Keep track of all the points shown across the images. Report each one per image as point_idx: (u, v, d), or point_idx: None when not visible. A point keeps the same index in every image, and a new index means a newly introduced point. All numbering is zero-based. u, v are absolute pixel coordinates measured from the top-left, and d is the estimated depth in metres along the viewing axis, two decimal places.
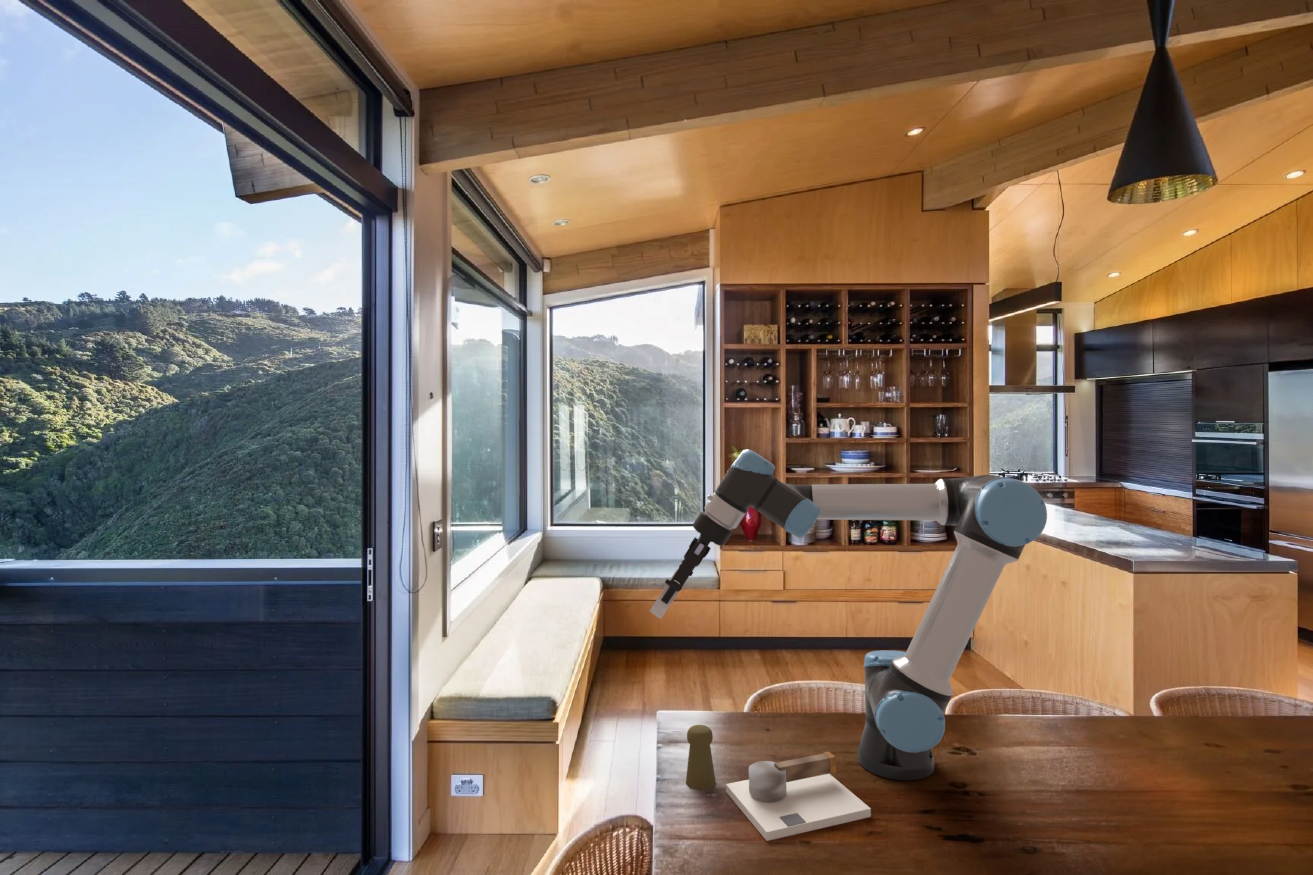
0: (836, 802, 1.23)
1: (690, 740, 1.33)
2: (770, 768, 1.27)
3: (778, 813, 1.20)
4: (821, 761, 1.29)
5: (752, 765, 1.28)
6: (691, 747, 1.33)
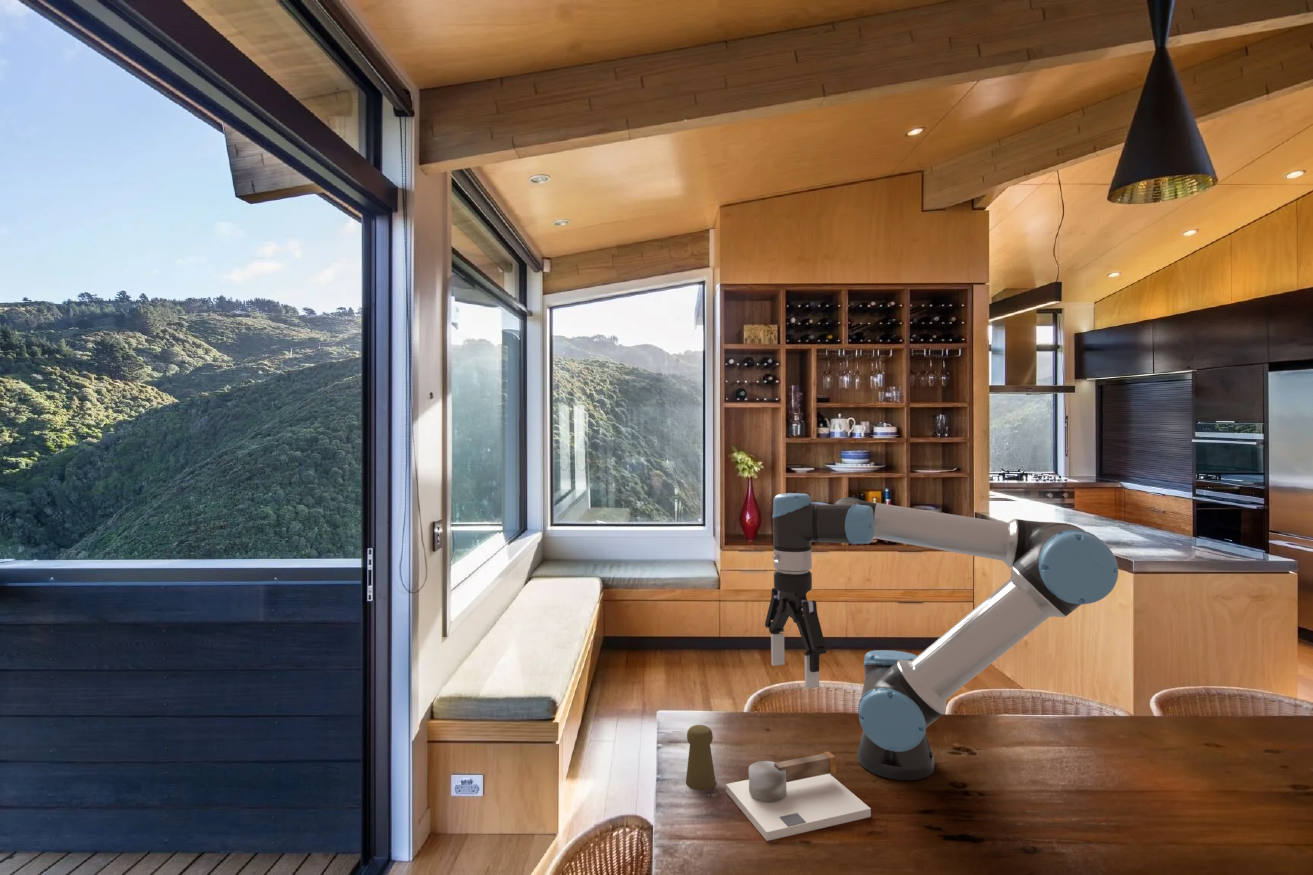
0: (836, 802, 1.23)
1: (690, 740, 1.33)
2: (770, 768, 1.27)
3: (778, 813, 1.20)
4: (821, 761, 1.29)
5: (752, 765, 1.28)
6: (691, 747, 1.33)
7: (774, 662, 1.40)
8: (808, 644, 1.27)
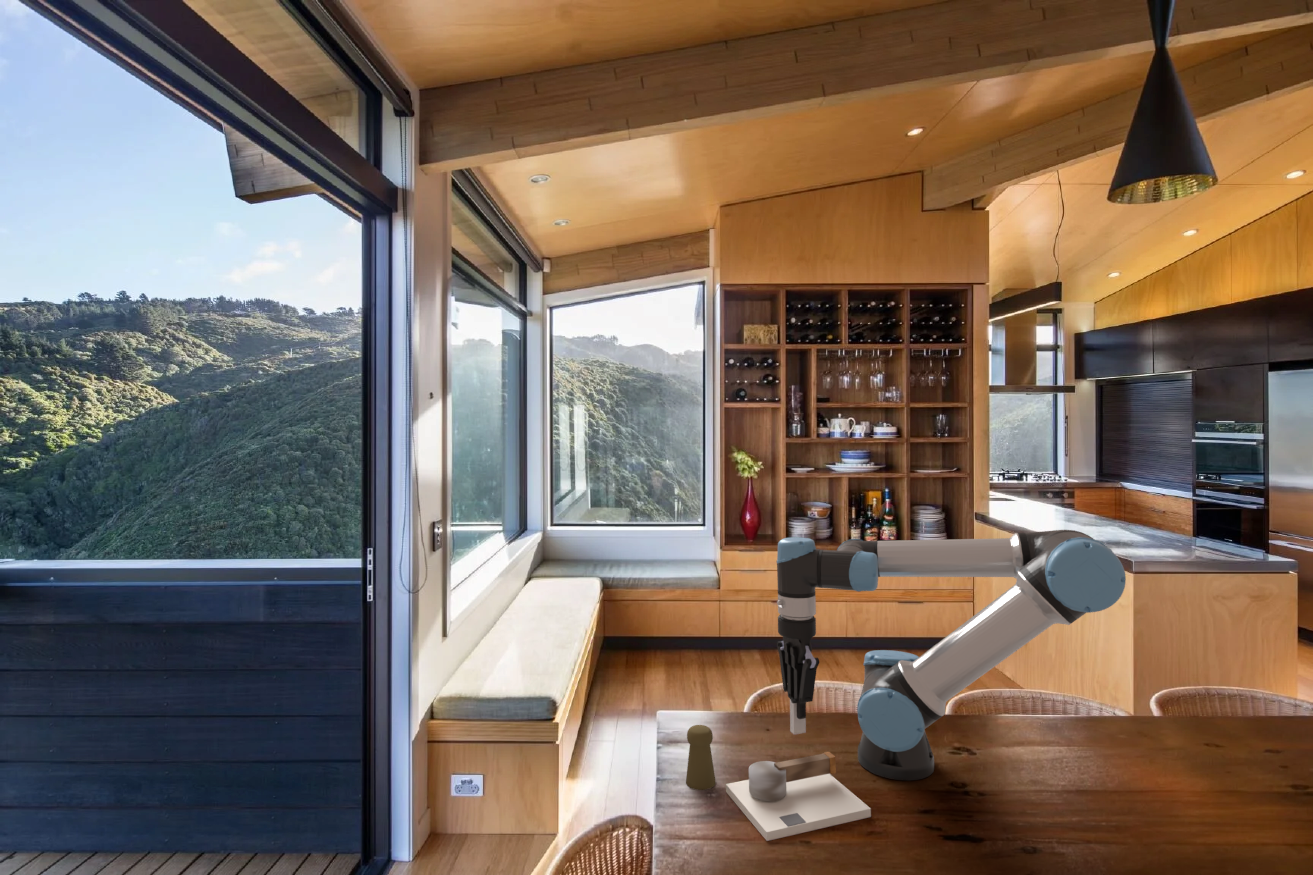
0: (836, 802, 1.23)
1: (690, 740, 1.33)
2: (770, 768, 1.27)
3: (778, 813, 1.20)
4: (821, 761, 1.29)
5: (752, 765, 1.28)
6: (691, 747, 1.33)
7: None
8: (797, 694, 1.32)
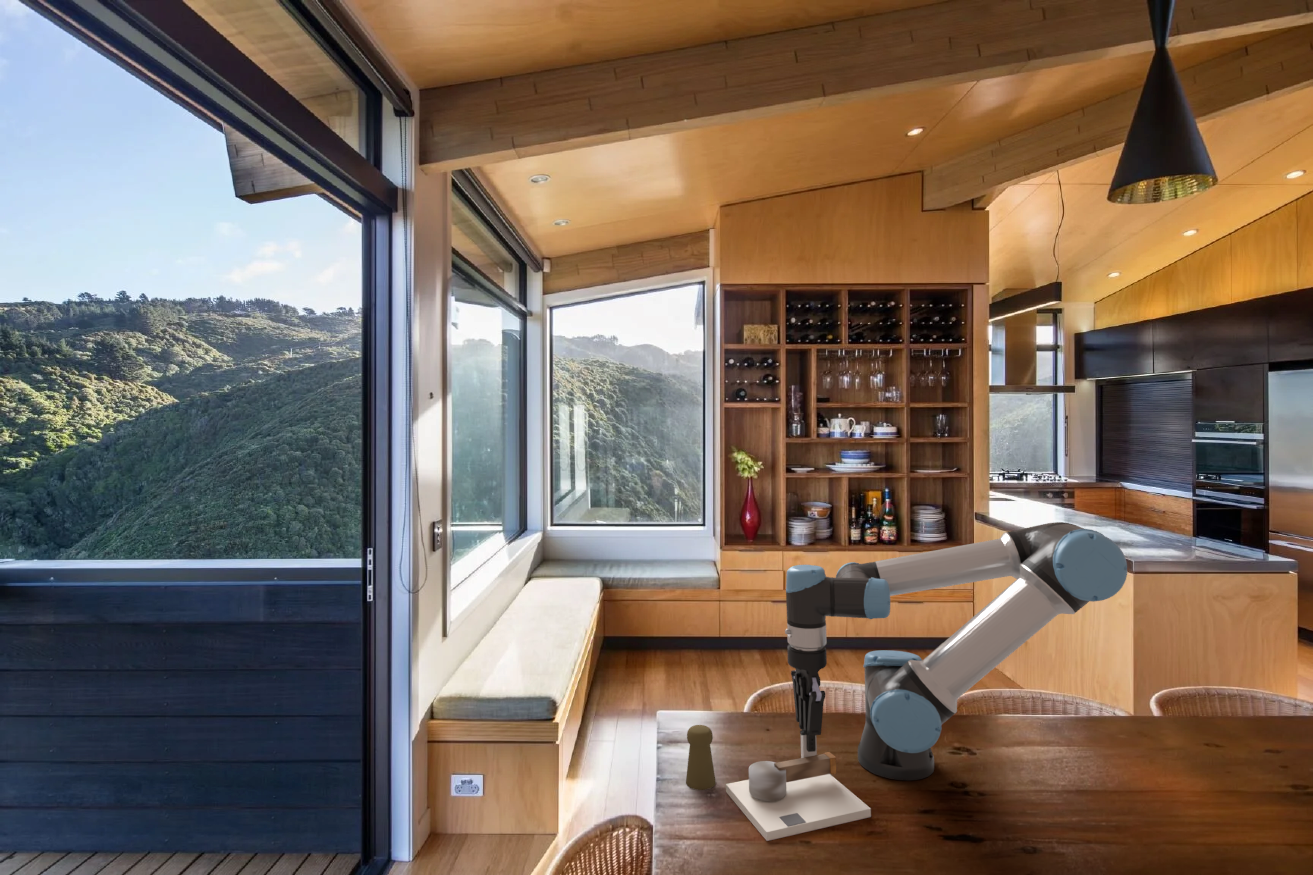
0: (836, 802, 1.23)
1: (690, 740, 1.33)
2: (770, 768, 1.27)
3: (778, 813, 1.20)
4: (821, 761, 1.29)
5: (752, 765, 1.28)
6: (691, 747, 1.33)
7: None
8: (806, 726, 1.29)
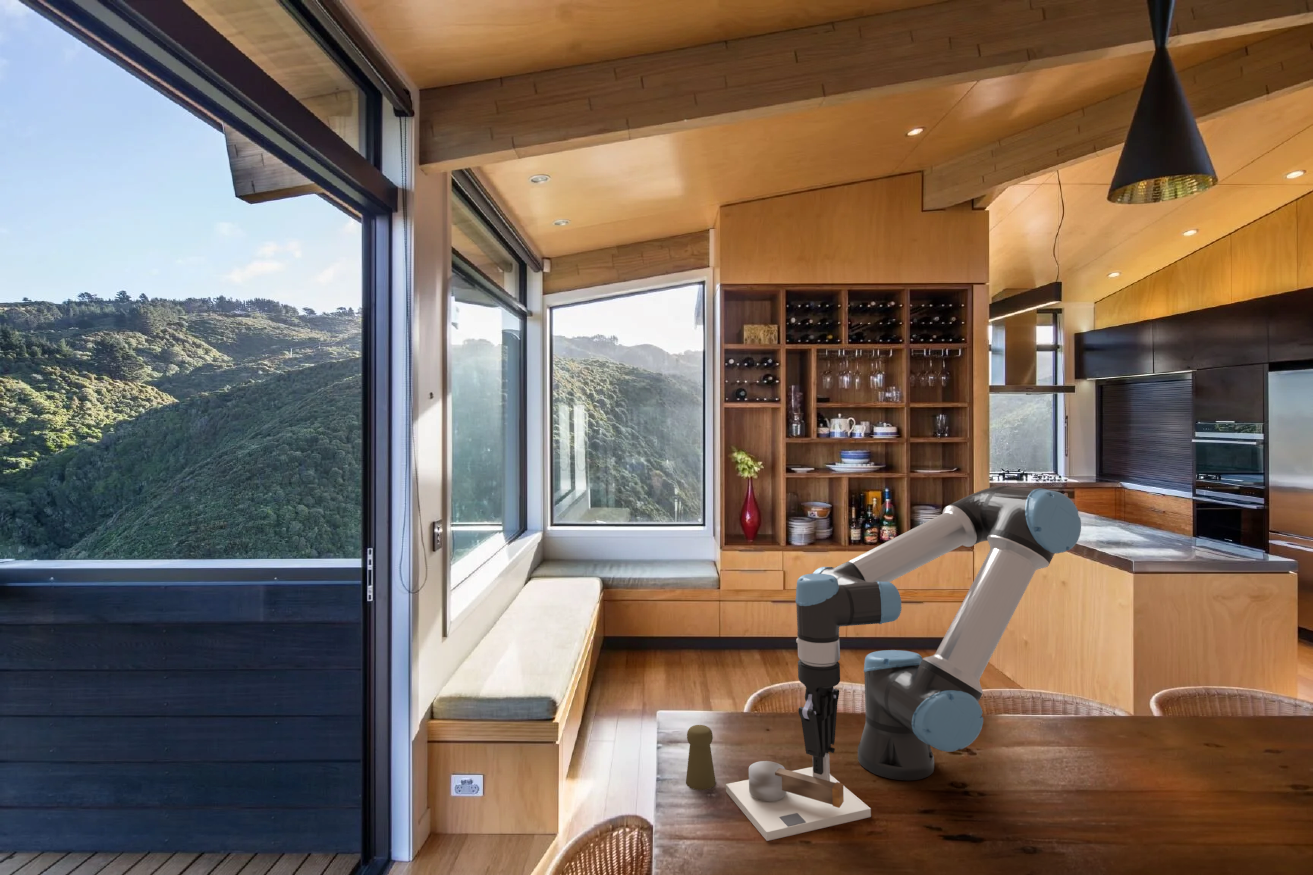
0: None
1: (690, 740, 1.33)
2: (772, 770, 1.26)
3: (778, 813, 1.20)
4: (822, 787, 1.19)
5: (763, 761, 1.29)
6: (691, 747, 1.33)
7: None
8: None
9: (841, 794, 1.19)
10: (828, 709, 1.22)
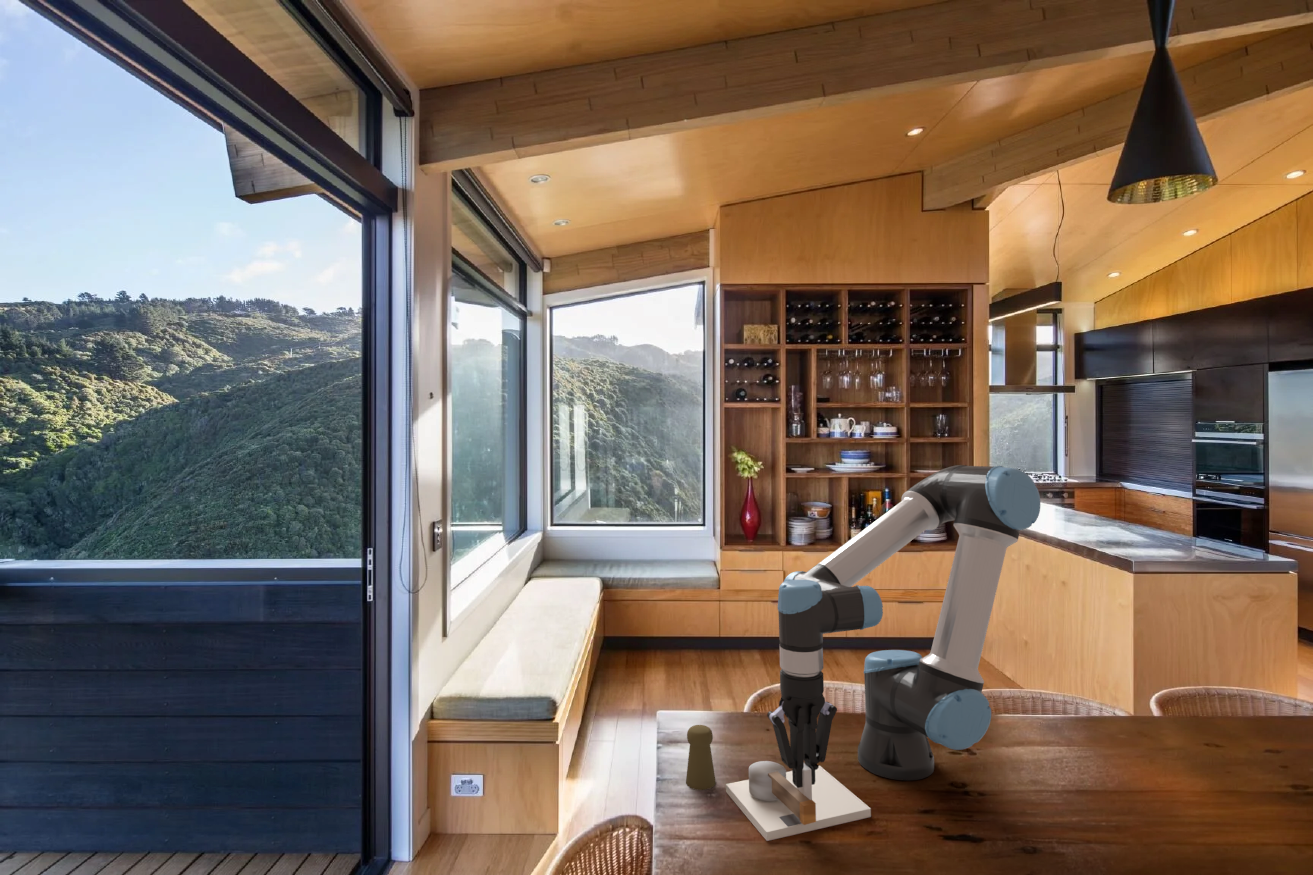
0: (836, 802, 1.23)
1: (690, 740, 1.33)
2: (770, 771, 1.26)
3: (778, 813, 1.20)
4: (794, 799, 1.16)
5: (773, 763, 1.29)
6: (691, 747, 1.33)
7: None
8: None
9: (810, 812, 1.13)
10: (810, 723, 1.17)
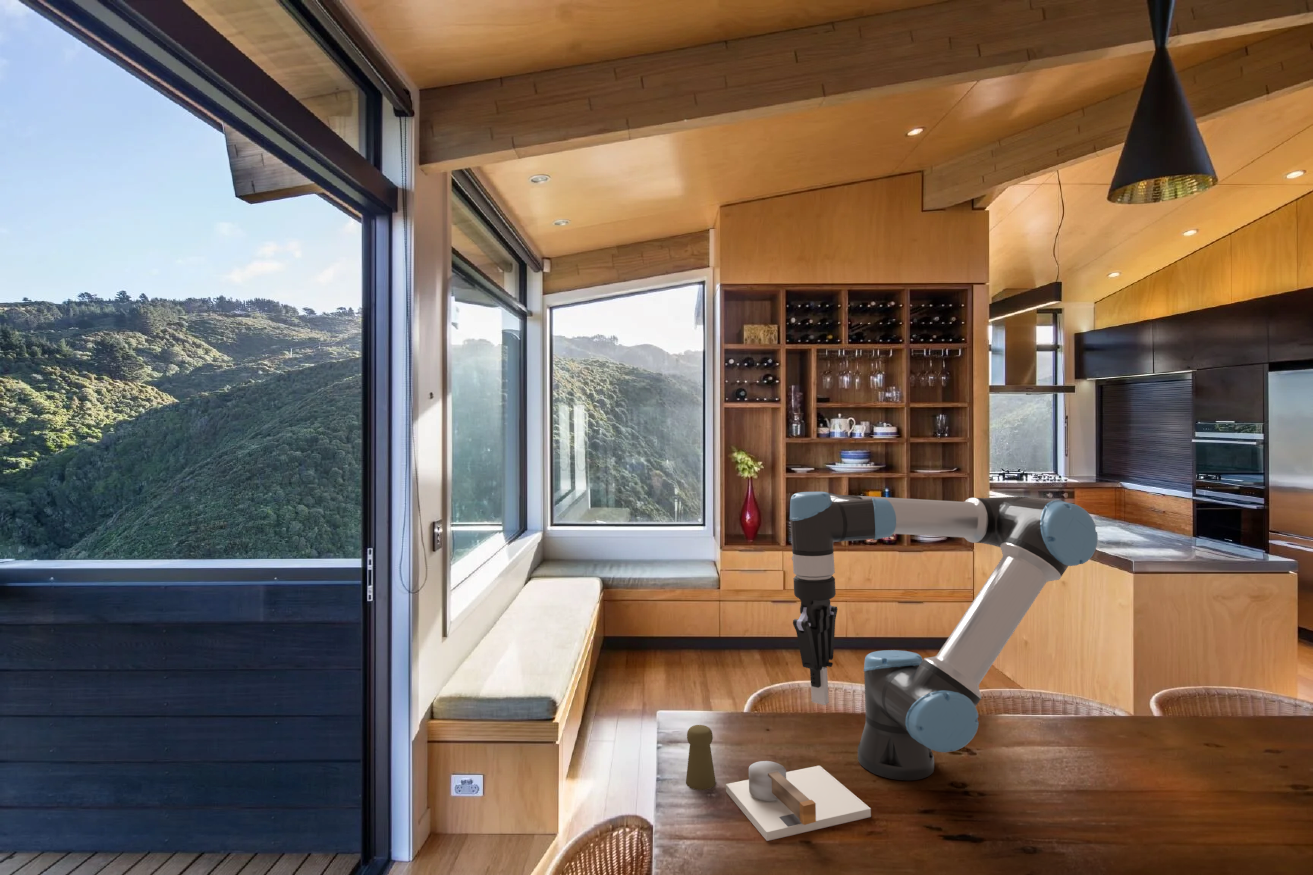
0: (836, 802, 1.23)
1: (690, 740, 1.33)
2: (770, 771, 1.26)
3: (778, 813, 1.20)
4: (794, 799, 1.16)
5: (773, 763, 1.29)
6: (691, 747, 1.33)
7: None
8: None
9: (810, 812, 1.13)
10: (824, 623, 1.23)
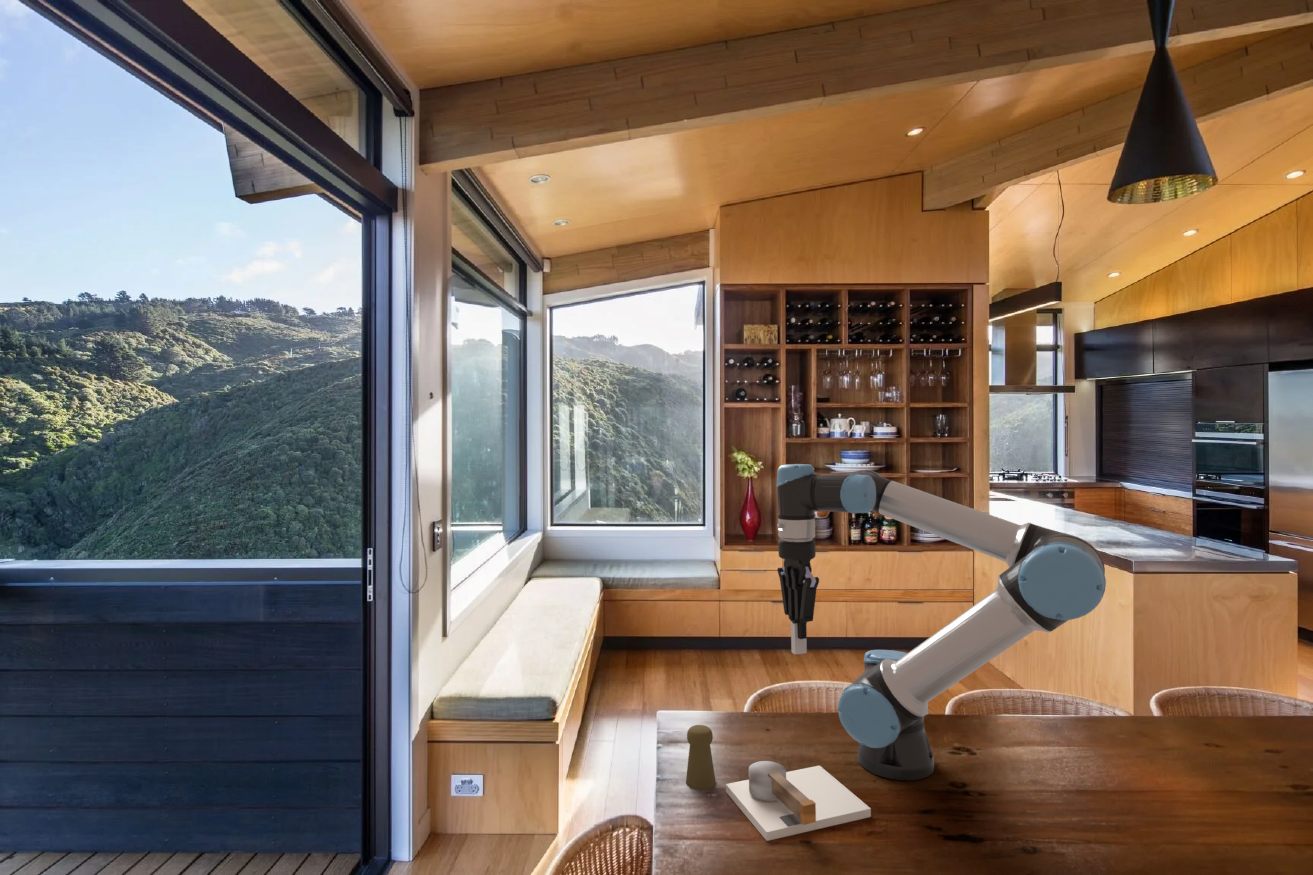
0: (836, 802, 1.23)
1: (690, 740, 1.33)
2: (770, 771, 1.26)
3: (778, 813, 1.20)
4: (794, 799, 1.16)
5: (773, 763, 1.29)
6: (691, 747, 1.33)
7: None
8: (798, 614, 1.36)
9: (810, 812, 1.13)
10: None
